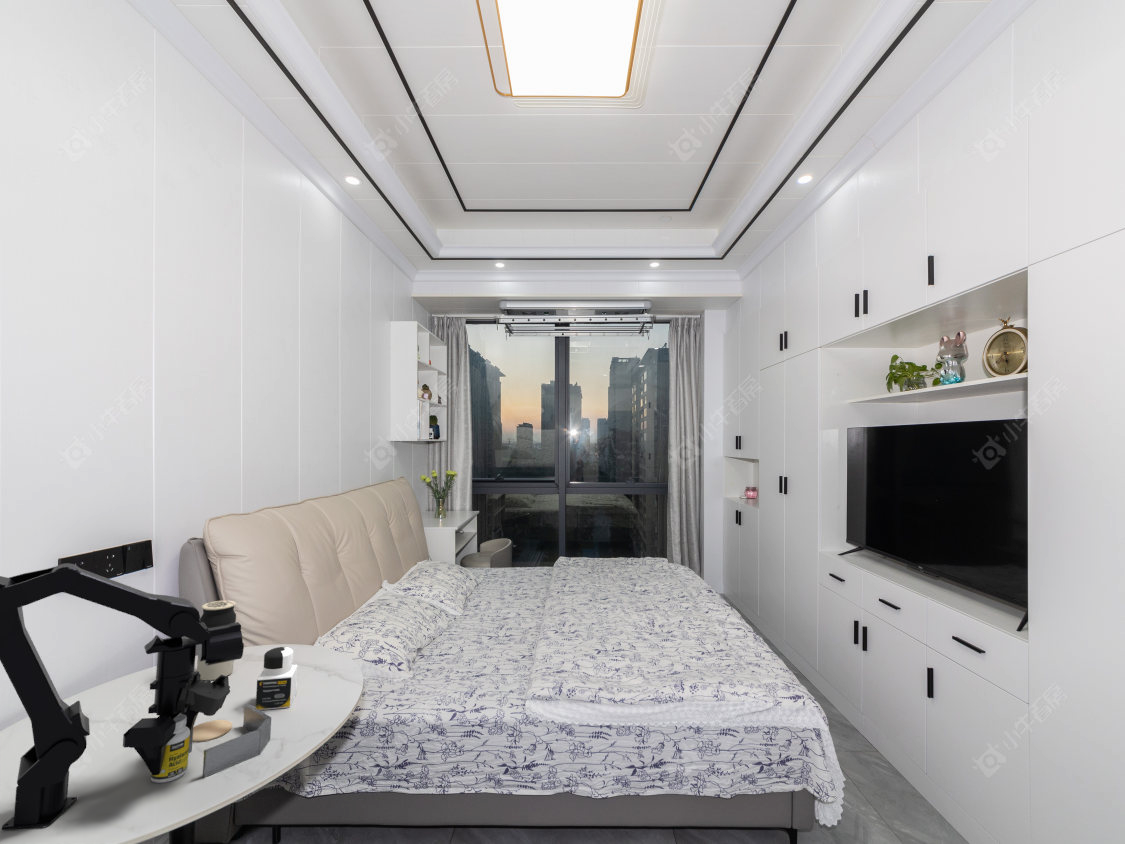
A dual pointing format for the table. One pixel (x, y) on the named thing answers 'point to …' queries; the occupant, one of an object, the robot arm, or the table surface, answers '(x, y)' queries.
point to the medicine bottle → (277, 680)
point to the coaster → (211, 730)
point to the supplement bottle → (175, 753)
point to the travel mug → (215, 617)
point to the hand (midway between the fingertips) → (170, 760)
